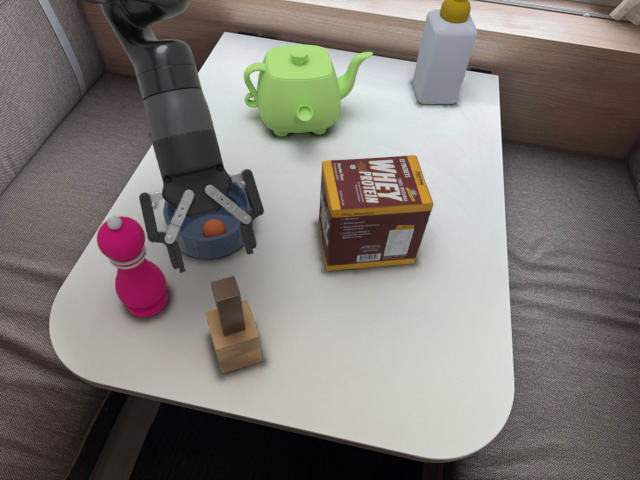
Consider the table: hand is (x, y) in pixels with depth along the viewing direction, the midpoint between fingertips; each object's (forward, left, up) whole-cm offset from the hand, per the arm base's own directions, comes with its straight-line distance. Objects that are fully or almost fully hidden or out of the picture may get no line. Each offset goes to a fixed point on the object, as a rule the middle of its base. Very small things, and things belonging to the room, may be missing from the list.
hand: (217, 262), depth 65 cm
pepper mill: (-11, +9, -18) cm, 23 cm away
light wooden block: (0, -4, -17) cm, 18 cm away
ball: (+2, +17, -15) cm, 23 cm away
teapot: (+27, +40, -18) cm, 52 cm away
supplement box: (+26, +8, -18) cm, 33 cm away
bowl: (+2, +20, -17) cm, 27 cm away
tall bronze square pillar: (0, -4, -9) cm, 10 cm away
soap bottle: (+58, +42, -18) cm, 74 cm away
